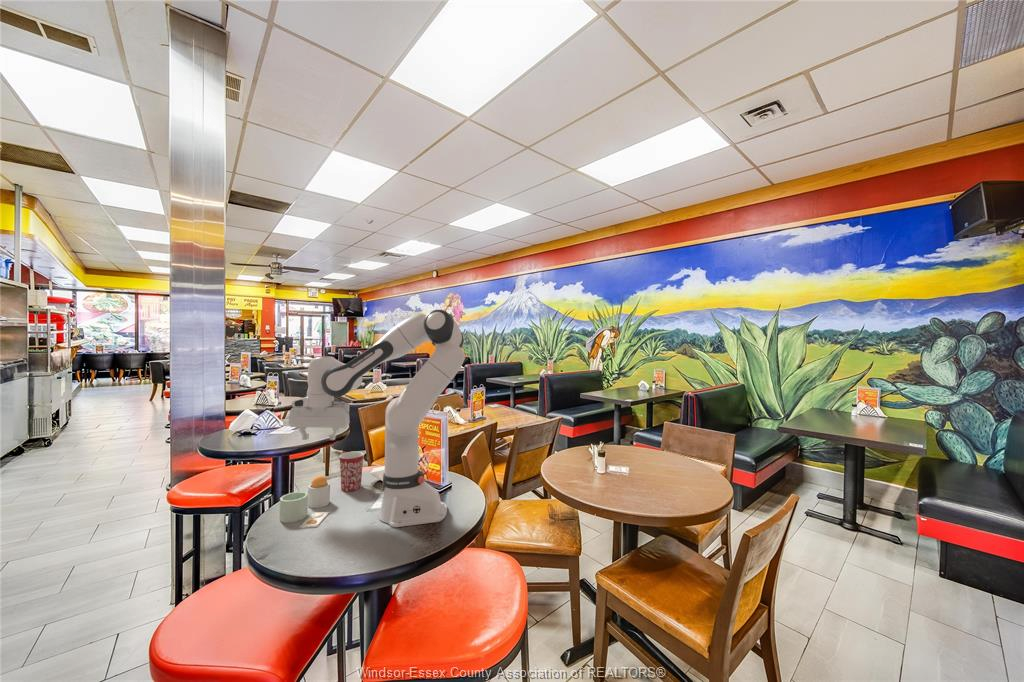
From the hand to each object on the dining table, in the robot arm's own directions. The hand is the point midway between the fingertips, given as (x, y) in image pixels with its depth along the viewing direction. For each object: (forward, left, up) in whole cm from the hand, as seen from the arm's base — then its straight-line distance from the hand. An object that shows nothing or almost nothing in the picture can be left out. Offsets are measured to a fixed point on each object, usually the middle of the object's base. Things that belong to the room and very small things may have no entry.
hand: (318, 439), depth 133 cm
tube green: (+4, +9, -23) cm, 25 cm away
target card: (-4, +12, -23) cm, 27 cm away
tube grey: (0, -1, -23) cm, 23 cm away
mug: (-7, -17, -24) cm, 30 cm away
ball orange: (0, -1, -18) cm, 18 cm away
